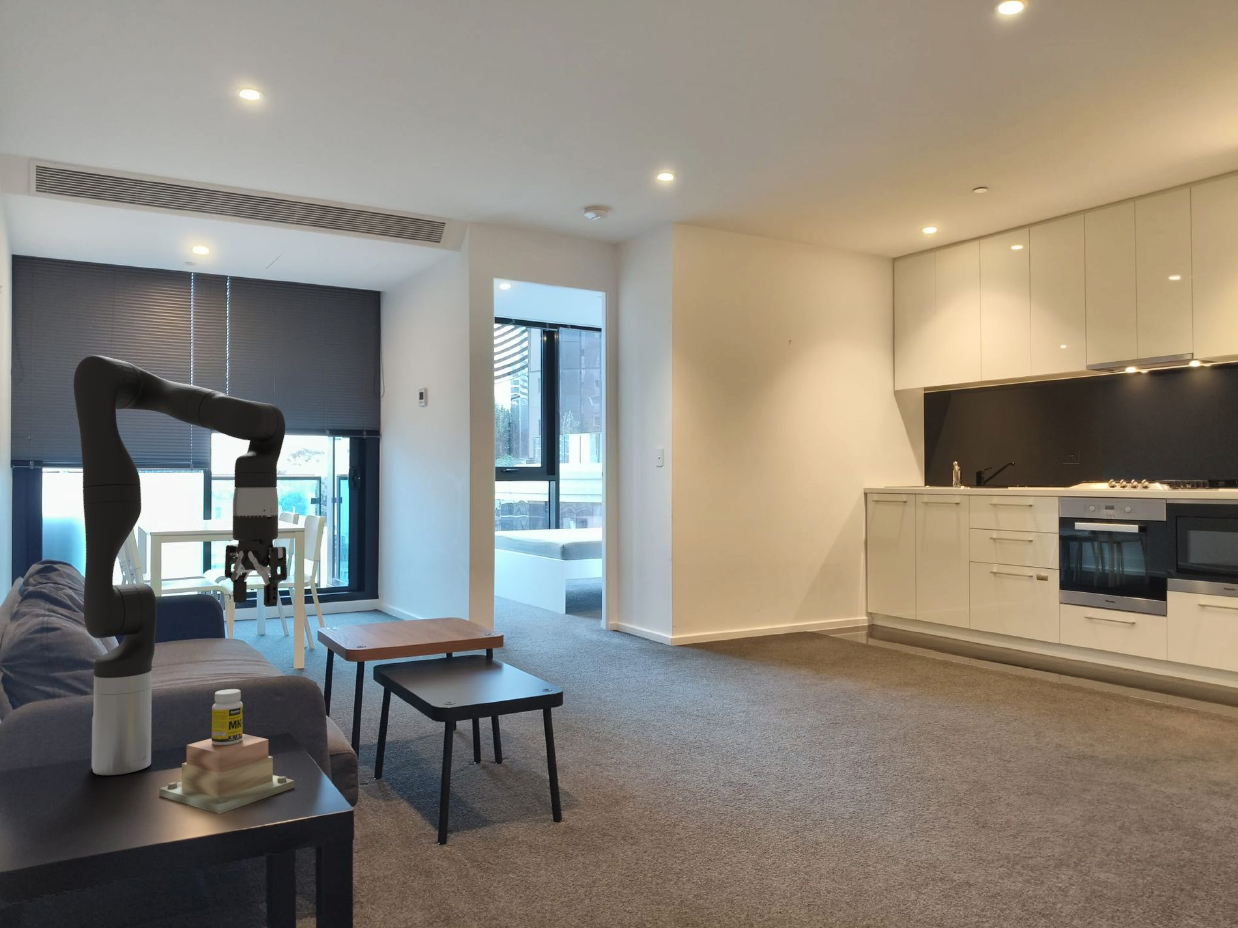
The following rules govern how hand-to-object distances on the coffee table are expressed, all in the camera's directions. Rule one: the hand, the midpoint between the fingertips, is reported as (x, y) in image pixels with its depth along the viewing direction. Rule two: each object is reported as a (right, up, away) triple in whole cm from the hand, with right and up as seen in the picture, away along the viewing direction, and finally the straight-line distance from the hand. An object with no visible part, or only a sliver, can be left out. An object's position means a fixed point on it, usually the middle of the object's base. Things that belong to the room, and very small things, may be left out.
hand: (255, 604), depth 156 cm
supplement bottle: (-1, -22, -9) cm, 24 cm away
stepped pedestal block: (-1, -30, -10) cm, 31 cm away
